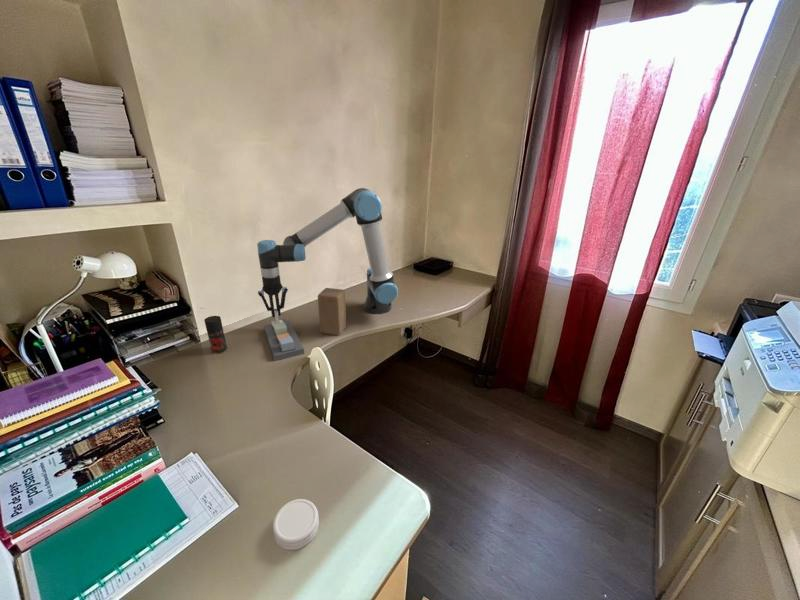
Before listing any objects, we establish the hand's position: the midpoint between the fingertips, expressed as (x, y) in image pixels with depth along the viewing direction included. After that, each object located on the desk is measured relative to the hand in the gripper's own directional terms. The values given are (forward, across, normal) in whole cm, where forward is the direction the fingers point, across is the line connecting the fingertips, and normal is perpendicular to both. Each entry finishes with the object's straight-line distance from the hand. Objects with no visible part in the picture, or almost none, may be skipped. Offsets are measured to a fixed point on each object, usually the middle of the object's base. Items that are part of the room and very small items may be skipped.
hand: (277, 322), depth 159 cm
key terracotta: (+4, 0, +14) cm, 14 cm away
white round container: (+5, +13, +96) cm, 97 cm away
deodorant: (+5, +26, +6) cm, 27 cm away
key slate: (+2, 0, +21) cm, 21 cm away
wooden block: (+5, -24, +11) cm, 27 cm away
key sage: (+2, 0, +7) cm, 7 cm away
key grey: (+4, 0, 0) cm, 4 cm away
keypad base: (+5, 0, +10) cm, 11 cm away
